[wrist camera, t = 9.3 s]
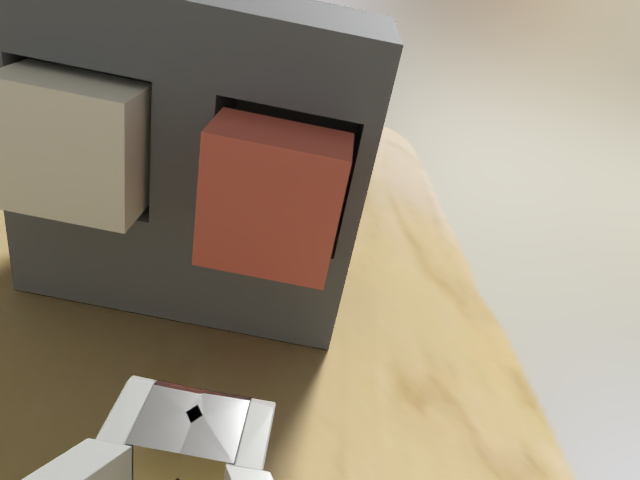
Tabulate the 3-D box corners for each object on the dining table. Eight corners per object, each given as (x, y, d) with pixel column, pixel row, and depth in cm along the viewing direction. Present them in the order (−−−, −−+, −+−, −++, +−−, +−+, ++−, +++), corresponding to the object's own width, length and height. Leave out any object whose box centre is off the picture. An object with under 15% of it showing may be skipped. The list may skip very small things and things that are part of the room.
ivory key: (-3, 209, 21) (-21, 74, 18) (39, 179, 23) (28, 58, 21) (124, 234, 21) (124, 103, 18) (151, 201, 23) (154, 83, 21)
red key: (191, 264, 20) (201, 132, 17) (212, 226, 22) (223, 106, 20) (323, 290, 20) (352, 161, 17) (328, 249, 23) (354, 133, 20)
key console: (13, 289, 25) (-30, -44, 18) (91, 213, 32) (81, -48, 25) (328, 349, 25) (403, 45, 18) (336, 261, 32) (393, 16, 25)
